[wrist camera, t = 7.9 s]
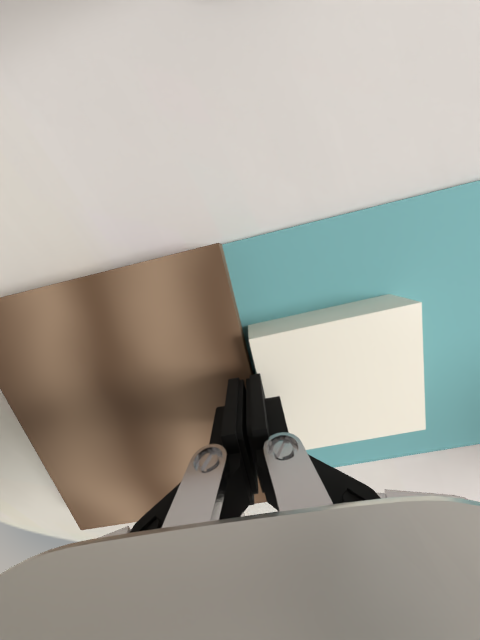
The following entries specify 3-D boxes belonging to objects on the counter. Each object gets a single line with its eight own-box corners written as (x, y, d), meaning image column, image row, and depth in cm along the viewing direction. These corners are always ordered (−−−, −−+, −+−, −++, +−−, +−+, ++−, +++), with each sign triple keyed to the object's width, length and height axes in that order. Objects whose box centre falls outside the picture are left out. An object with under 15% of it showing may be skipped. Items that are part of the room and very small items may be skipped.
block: (389, 293, 13) (421, 302, 10) (397, 401, 14) (425, 429, 12) (248, 325, 13) (248, 339, 11) (271, 424, 15) (276, 454, 13)
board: (222, 245, 13) (218, 242, 11) (277, 471, 17) (281, 499, 15) (-5, 301, 14) (-45, 309, 12) (98, 500, 18) (80, 530, 16)
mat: (549, 163, 11) (560, 160, 11) (522, 431, 15) (529, 435, 15) (213, 247, 13) (212, 246, 12) (270, 472, 17) (271, 477, 16)
